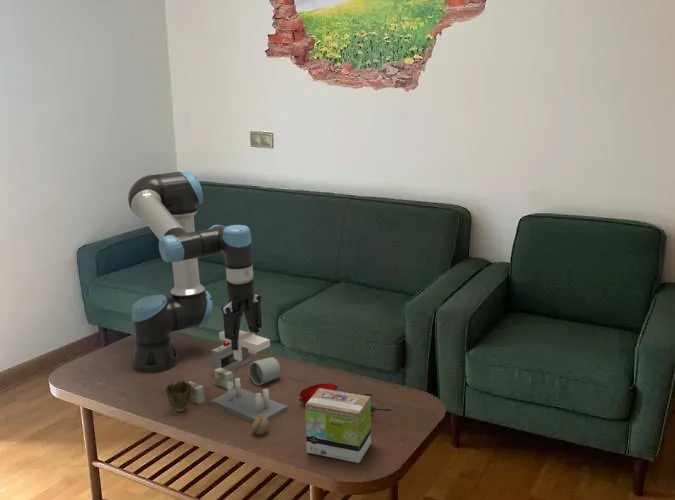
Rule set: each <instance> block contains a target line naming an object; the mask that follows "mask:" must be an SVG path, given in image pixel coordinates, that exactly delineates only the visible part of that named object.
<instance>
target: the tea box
mask: <svg viewBox="0 0 675 500" xmlns="http://www.w3.org/2000/svg"><path fill="white" fill-rule="evenodd" d="M371 400H372V396H364V394H357V393H354V392H353V393H351V392H346V391H340V390H336V391H334V390H328V389H322V388H319V389H318V390H317V391H316V392H315V394H314V395H313V396H312V397H311V398H310V400H309V401H308V402H307V403H304V413H305V414H304V416H305V442H306V443H305V444H306V453H307V454H314V455H318V456H323V457H328V458H333V459H338V460H343V461H346V462H351V463H356V464H359V463H360V462H361V461H362V459H363V458H364V456H365V454H366V453H367V451H368V449H369V447H370V446H371V444H372V413H371V406H372V403H371V402H372V401H371Z"/></svg>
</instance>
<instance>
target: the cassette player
mask: <svg viewBox="0 0 675 500" xmlns="http://www.w3.org/2000/svg"><path fill="white" fill-rule="evenodd" d="M241 349H242V361H239V360H236V359H234V352H233V350H232V346H231V343H230V342H227V341H225V342H223V344H221V345H219V346H218V347H216V348H213V349H211V356H212V370H213V376H215V372H214V370H216V369H218V368H223V369H225V370H228V371H230V372H233V371H234V370H236V369H238V368H240V367H242V366H244V365H246V364H247V363H249V362H251V361H252V360H253V356H252V353H249V352H248V348H245V347H242V346H241Z"/></svg>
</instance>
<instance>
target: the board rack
mask: <svg viewBox="0 0 675 500" xmlns="http://www.w3.org/2000/svg"><path fill="white" fill-rule="evenodd" d="M214 372H215V375H214V380H215V381H214V382H215V385H216V386H218V387H221V388H223V389H226V390H228V385H227V383H228V382H233V388H235V381H234V372H233V371H228V370H225V369H223V368H218V369H216V370H214ZM214 372H213V373H214ZM188 382H189V384H190V383H191V401H190V402H192V403H194V404H197V405H200V404H202V403H204V402H205V391H204V386H203V385H201V384H198V383H196V382H194V381H191V380H190V381H187V382H186V383H188Z"/></svg>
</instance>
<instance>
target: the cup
mask: <svg viewBox="0 0 675 500" xmlns="http://www.w3.org/2000/svg"><path fill="white" fill-rule="evenodd" d="M187 382H188V383H187ZM187 382H186V381H185V380H183V381H179V380H177V382H176V383H175V384H174V383H173V382H171V383H170V384H167V385H166V387H165V391H166V397H167V400H168V403H169V405H170V407H172V408H173V409H174V412H175V413H176V414H183V413H185V412H187V410H188V406H189V405H190V404H191V402H192V401H191V383H190V384H189V382H190V381H187Z"/></svg>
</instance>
